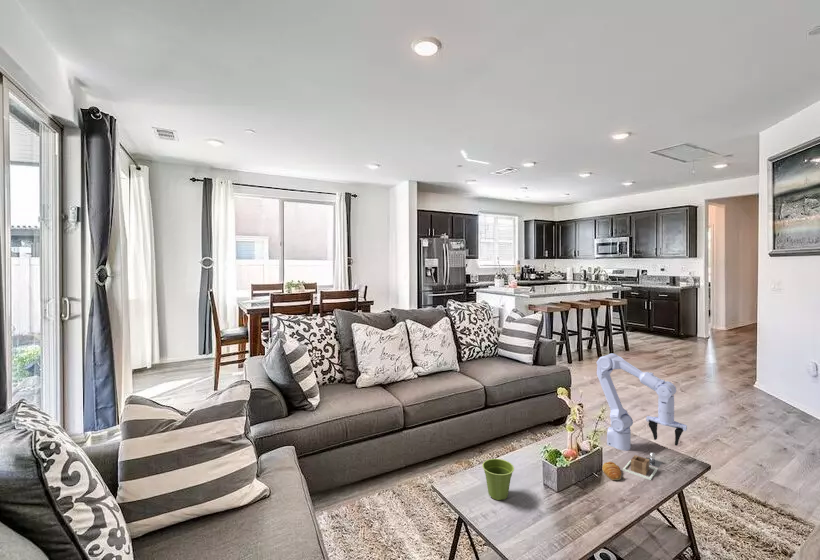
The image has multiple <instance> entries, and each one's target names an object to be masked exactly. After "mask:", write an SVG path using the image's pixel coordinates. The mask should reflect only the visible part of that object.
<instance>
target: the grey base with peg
mask: <svg viewBox="0 0 820 560" xmlns="http://www.w3.org/2000/svg"><path fill="white" fill-rule="evenodd" d="M645 458H646V459H649V466H651V467H654V468H660V466H661V465H662V463H663V461H660V460H657V459H656V453H655V452H653V451H650V453H649V457H645Z"/></svg>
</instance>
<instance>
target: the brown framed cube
mask: <svg viewBox="0 0 820 560" xmlns="http://www.w3.org/2000/svg"><path fill="white" fill-rule="evenodd" d="M630 460H631V463H630V471H632V472H635V473H638V474H641V475H644V476H646V475H647V474H648V473H649V472H650V468H649V466H650V465H649V459H646V457H642V456H640V455H636V454H634V456H632V458H631V459H630Z"/></svg>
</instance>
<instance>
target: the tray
mask: <svg viewBox="0 0 820 560" xmlns="http://www.w3.org/2000/svg"><path fill="white" fill-rule="evenodd" d="M629 466H631V459H630V460H629V461H628V462H627V464H625V466H624V467H623V468H622V471H623V472H626V473H629V474H631V475H635V476H637V477H640V478H644V479H645V480H649V481H651V480H652V479H653V477H654V476H655V475H656V473H657V471H658V467H655V466H652V465H649V469H651V470H653V471H652V473H651V474H650V476H646V475H643V474H640V473H637V472H634V471H631V470H629V469H627V468H628V467H629Z"/></svg>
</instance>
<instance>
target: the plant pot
mask: <svg viewBox="0 0 820 560" xmlns="http://www.w3.org/2000/svg"><path fill="white" fill-rule="evenodd" d="M481 465H482V466H481V467H482V469H483V470H484V476H485V480H486V485H487V486H486V487H487V492H488V495H489V497H490V496H491V497H492V498H491V497H490V498H491V499H493V500H497V501H501V500H506V499H508V496H509V490H510V484H511V478H512V476H513V473H514V471H515V467H514V465H513V464H512V463H511V462H509V461H507V460H505V459H502V458H490V459H485V460H484V461H483V463H482V464H481Z"/></svg>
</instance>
